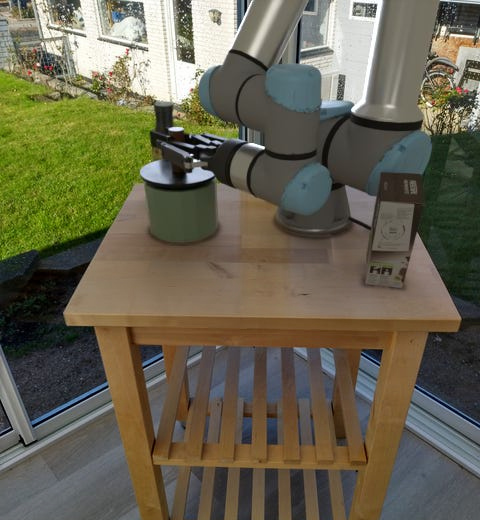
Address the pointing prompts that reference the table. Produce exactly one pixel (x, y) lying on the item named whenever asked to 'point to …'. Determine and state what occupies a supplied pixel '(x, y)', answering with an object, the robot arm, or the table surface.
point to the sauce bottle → (162, 123)
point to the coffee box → (394, 228)
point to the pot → (182, 211)
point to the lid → (174, 170)
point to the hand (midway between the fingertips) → (159, 136)
